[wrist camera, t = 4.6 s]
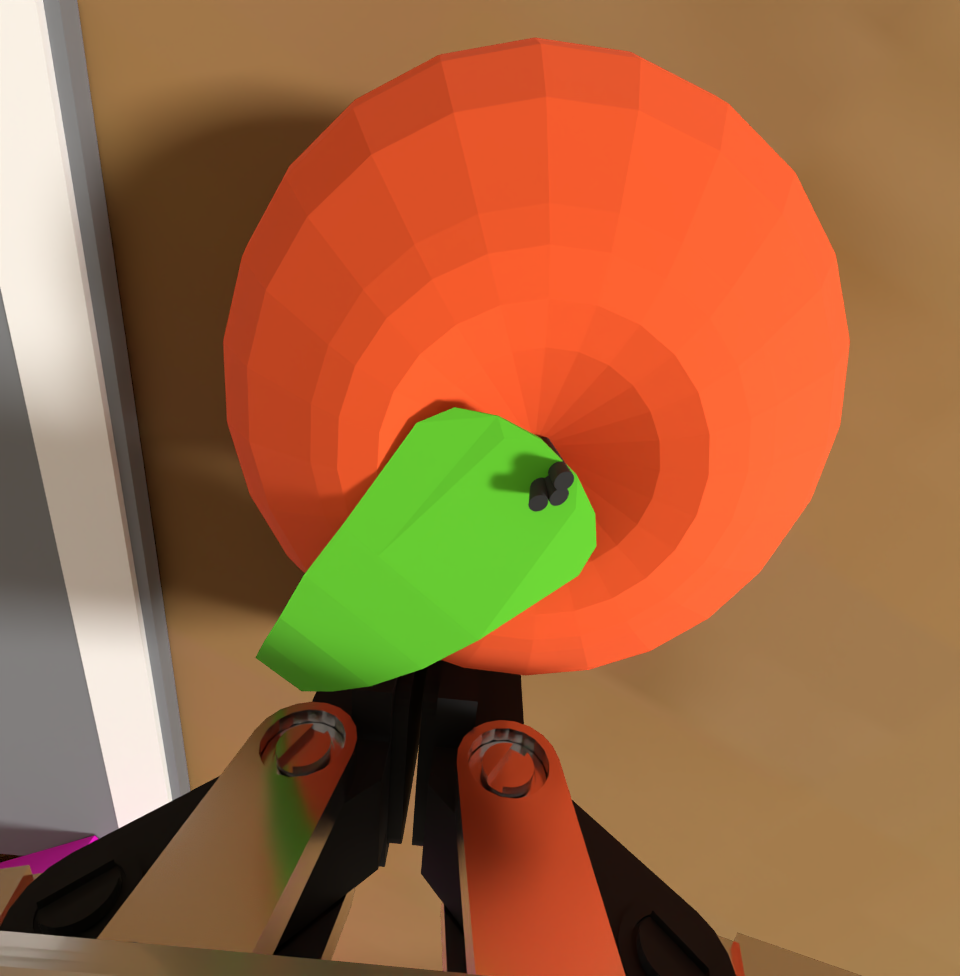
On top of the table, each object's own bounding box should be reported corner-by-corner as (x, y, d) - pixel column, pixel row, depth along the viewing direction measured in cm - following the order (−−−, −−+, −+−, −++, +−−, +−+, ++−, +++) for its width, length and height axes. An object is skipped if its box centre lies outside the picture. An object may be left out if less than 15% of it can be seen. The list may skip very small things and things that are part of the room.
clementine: (475, 608, 12) (449, 1004, 5) (229, 396, 10) (-250, 587, 4) (771, 359, 10) (1354, 501, 3) (519, 42, 8) (617, -1037, 2)
